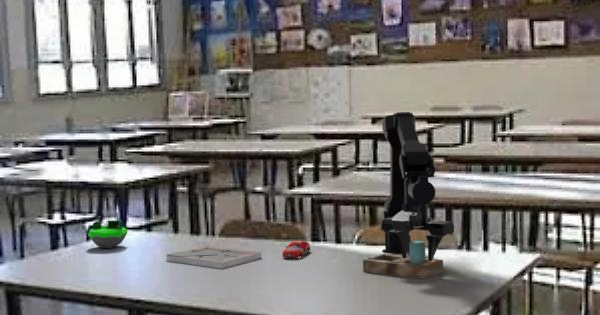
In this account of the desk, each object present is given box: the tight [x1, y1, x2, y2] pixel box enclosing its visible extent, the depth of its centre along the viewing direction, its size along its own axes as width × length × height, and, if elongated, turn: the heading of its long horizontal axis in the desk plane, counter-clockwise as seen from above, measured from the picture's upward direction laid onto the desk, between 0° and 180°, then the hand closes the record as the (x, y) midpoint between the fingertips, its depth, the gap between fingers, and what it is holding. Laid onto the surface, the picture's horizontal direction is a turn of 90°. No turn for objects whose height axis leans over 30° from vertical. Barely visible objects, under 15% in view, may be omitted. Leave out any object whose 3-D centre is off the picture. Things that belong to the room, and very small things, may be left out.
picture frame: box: [165, 245, 263, 269], centre depth 270 cm, size 16×2×22 cm
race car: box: [282, 240, 311, 259], centre depth 272 cm, size 13×5×4 cm, turn 160°
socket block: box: [362, 252, 444, 280], centre depth 245 cm, size 18×10×3 cm, turn 51°
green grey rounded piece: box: [87, 212, 128, 249], centre depth 294 cm, size 12×12×11 cm
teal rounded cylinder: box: [408, 240, 426, 265], centre depth 242 cm, size 4×4×8 cm
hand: (417, 259), depth 242 cm, fingers open, 7 cm apart
